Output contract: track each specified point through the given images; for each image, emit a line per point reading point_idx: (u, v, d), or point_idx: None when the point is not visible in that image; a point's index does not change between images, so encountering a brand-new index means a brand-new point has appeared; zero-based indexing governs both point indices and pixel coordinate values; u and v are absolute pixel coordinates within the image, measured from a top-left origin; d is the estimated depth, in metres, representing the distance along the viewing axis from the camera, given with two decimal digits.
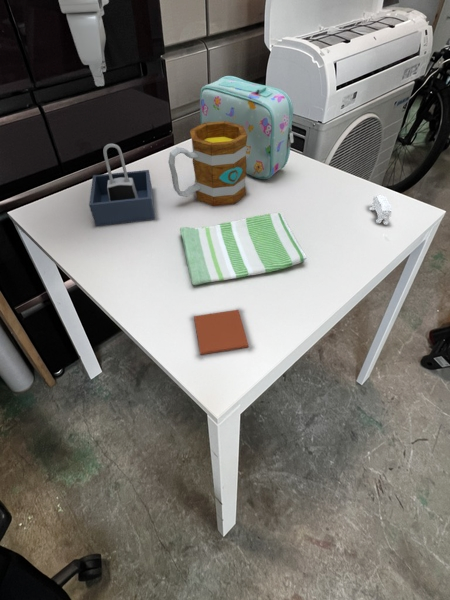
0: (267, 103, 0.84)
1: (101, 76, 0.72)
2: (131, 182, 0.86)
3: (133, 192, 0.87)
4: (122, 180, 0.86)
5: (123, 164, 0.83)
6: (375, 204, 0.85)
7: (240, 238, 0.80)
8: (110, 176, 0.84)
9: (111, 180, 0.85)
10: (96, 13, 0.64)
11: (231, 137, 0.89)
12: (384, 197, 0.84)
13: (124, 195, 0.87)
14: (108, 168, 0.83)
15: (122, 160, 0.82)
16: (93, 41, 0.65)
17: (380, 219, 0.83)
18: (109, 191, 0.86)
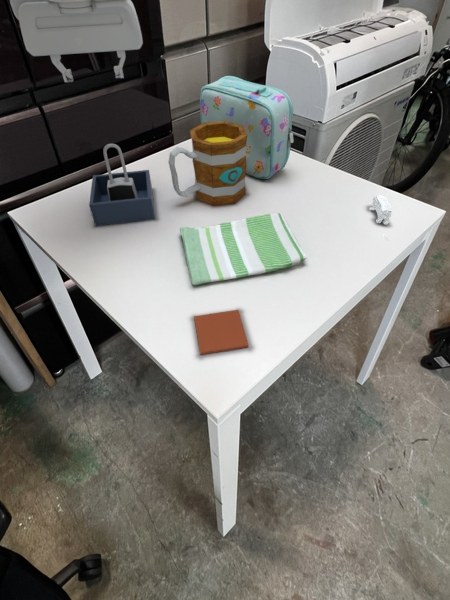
0: (267, 103, 0.84)
1: None
2: (131, 182, 0.86)
3: (133, 192, 0.87)
4: (122, 180, 0.86)
5: (123, 164, 0.83)
6: (375, 204, 0.85)
7: (240, 238, 0.80)
8: (110, 176, 0.84)
9: (111, 180, 0.85)
10: None
11: (231, 137, 0.89)
12: (384, 197, 0.84)
13: (124, 195, 0.87)
14: (108, 168, 0.83)
15: (122, 160, 0.82)
16: None
17: (380, 219, 0.83)
18: (109, 191, 0.86)
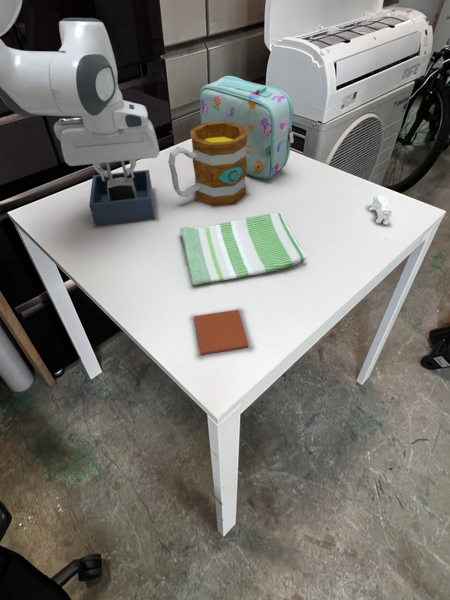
0: (267, 103, 0.84)
1: None
2: (131, 182, 0.86)
3: (133, 192, 0.87)
4: (122, 180, 0.86)
5: (123, 164, 0.83)
6: (375, 204, 0.85)
7: (240, 238, 0.80)
8: (110, 176, 0.84)
9: (111, 180, 0.85)
10: None
11: (231, 137, 0.89)
12: (384, 197, 0.84)
13: (124, 195, 0.87)
14: (108, 168, 0.83)
15: None
16: None
17: (380, 219, 0.83)
18: (109, 191, 0.86)
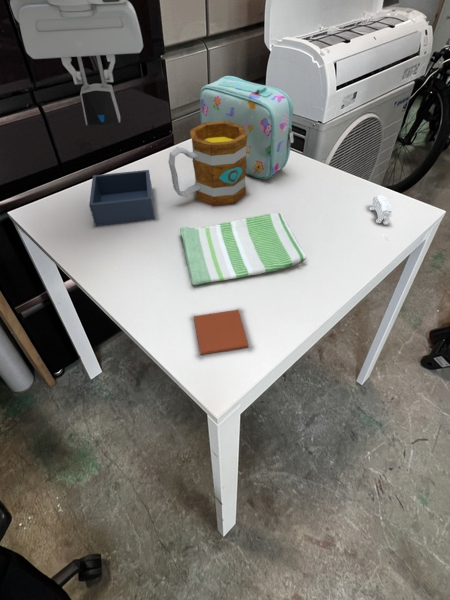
0: (267, 103, 0.84)
1: None
2: (110, 88, 0.71)
3: (112, 101, 0.72)
4: (99, 86, 0.71)
5: (99, 62, 0.68)
6: (375, 204, 0.85)
7: (240, 238, 0.80)
8: (84, 78, 0.70)
9: (85, 84, 0.70)
10: None
11: (231, 137, 0.89)
12: (384, 197, 0.84)
13: (101, 105, 0.72)
14: (81, 67, 0.68)
15: (98, 56, 0.68)
16: None
17: (380, 219, 0.83)
18: (83, 98, 0.71)
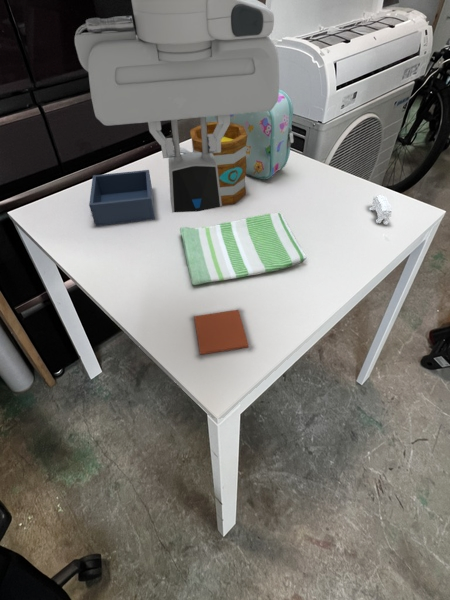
0: None
1: None
2: (213, 161, 0.46)
3: (216, 179, 0.47)
4: (197, 157, 0.46)
5: (204, 124, 0.43)
6: (375, 204, 0.85)
7: (240, 238, 0.80)
8: (177, 149, 0.45)
9: (178, 156, 0.45)
10: None
11: (231, 137, 0.89)
12: (384, 197, 0.84)
13: (199, 185, 0.47)
14: (175, 132, 0.43)
15: None
16: None
17: (380, 219, 0.83)
18: (173, 177, 0.46)
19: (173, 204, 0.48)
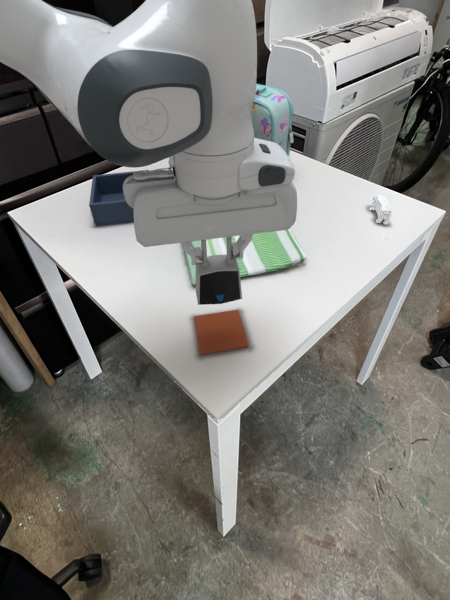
0: (267, 103, 0.84)
1: None
2: (236, 264, 0.52)
3: (238, 279, 0.53)
4: (221, 261, 0.52)
5: (229, 239, 0.49)
6: (375, 204, 0.85)
7: None
8: (204, 257, 0.50)
9: (205, 262, 0.51)
10: None
11: None
12: (384, 197, 0.84)
13: (223, 285, 0.53)
14: (204, 245, 0.49)
15: None
16: None
17: (380, 219, 0.83)
18: (201, 280, 0.52)
19: (199, 299, 0.54)
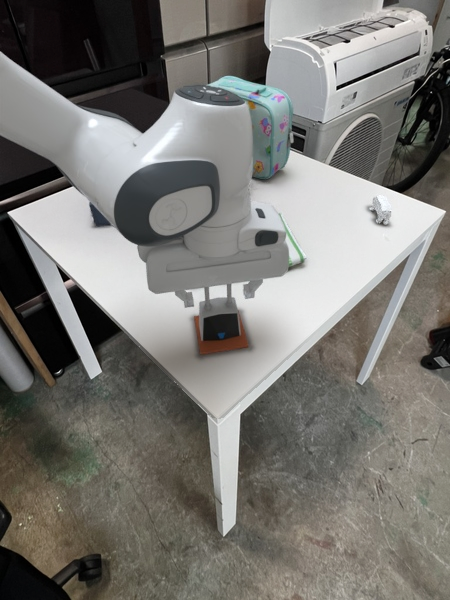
0: (267, 103, 0.84)
1: None
2: (235, 307, 0.59)
3: (237, 320, 0.59)
4: (222, 304, 0.59)
5: (229, 287, 0.56)
6: (375, 204, 0.85)
7: None
8: (207, 301, 0.57)
9: (208, 306, 0.58)
10: None
11: None
12: (384, 197, 0.84)
13: (224, 324, 0.59)
14: (207, 292, 0.56)
15: None
16: None
17: (380, 219, 0.83)
18: (204, 321, 0.58)
19: (202, 336, 0.61)
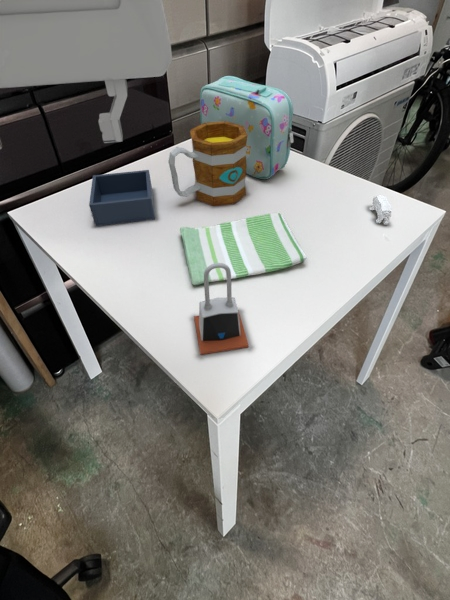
0: (267, 103, 0.84)
1: None
2: (235, 307, 0.59)
3: (237, 320, 0.59)
4: (222, 304, 0.59)
5: (229, 287, 0.56)
6: (375, 204, 0.85)
7: (240, 238, 0.80)
8: (207, 301, 0.57)
9: (208, 306, 0.58)
10: None
11: (231, 137, 0.89)
12: (384, 197, 0.84)
13: (224, 324, 0.59)
14: (207, 293, 0.56)
15: (229, 282, 0.55)
16: None
17: (380, 219, 0.83)
18: (204, 321, 0.58)
19: (202, 336, 0.61)
